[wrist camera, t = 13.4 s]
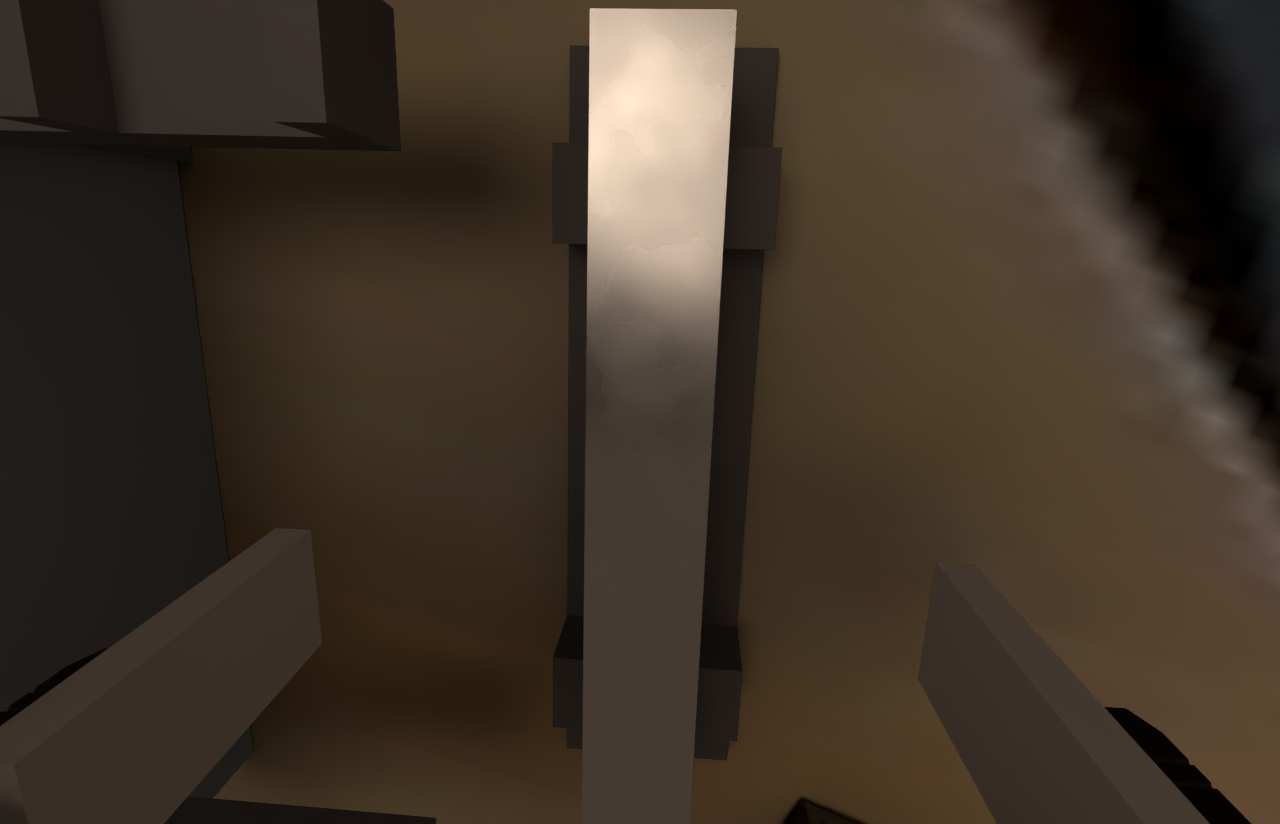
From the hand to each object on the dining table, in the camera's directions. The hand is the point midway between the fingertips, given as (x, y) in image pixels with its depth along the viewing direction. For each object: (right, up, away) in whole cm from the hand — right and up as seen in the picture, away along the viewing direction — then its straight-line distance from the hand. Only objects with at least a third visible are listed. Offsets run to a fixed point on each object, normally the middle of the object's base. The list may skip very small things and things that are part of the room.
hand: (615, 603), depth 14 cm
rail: (+1, +2, +9) cm, 9 cm away
